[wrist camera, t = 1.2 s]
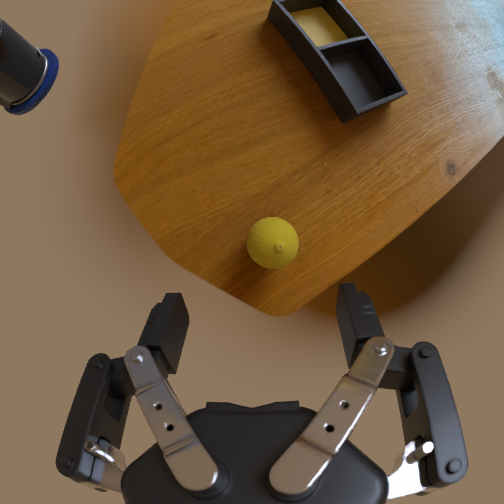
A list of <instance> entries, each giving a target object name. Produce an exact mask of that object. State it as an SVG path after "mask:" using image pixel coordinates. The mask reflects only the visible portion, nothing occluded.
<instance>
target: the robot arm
mask: <svg viewBox="0 0 504 504" xmlns="http://www.w3.org/2000/svg"><path fill="white" fill-rule="evenodd" d="M36 48H37V47H36ZM36 48H35V47H33V46H32V45H31V44H30V43H29V42H28V41H26V40H25V39H24V38H23V37H22V36H21V35H20V34H19V33H17V32H16V31H15V30H14V29H13V28H12V27H10V26H9V25H8V24H7V23H6V22H5V21H3V20H2V19H1V18H0V105H2V106H4V107H6V108H8V109H12V108H13V107H14V106H17V105H21V104H23V103H25V102H26V101H28V100H29V99H30V98H31V97H32V96H33V95H34V94H35V93H36V92H37V91H38V89H39V88H40V87H41V85H42V83H43V82H44V80H45V78H46V75H47V72H48V68H49V62H48V59H47V57H46V56H45V55H43V54H42V53H41V52H40V51H39V49H38V48H37V49H36ZM336 315H337V320H338V324H339V329H340V333H341V337H342V342H343V346H344V351H345V355H346V360H347V365H348V369H350V370H349V372H348V373H347V374H345V375H344V376H343V377H342V379H341V380H340V382H339V383H338V385H337V386H336V388H335V389H334V391H333V392H332V394H331V395H330V396H329V398H328V399H327V401H326V402H325V403H324V405H323V406H322V408H321V409H320V410H319V412H316V411H314V410H311V409H309V408H305V407H300V406H299V401H288V402H274V403H271V404H266V405H262V406H258V407H254V408H249V407H245V406H240V405H236V404H232V403H226V402H207V403H206V408H202V409H199V410H196V411H194V412H192V413H190V414H189V415H188V414H187V412H186V411H185V409H184V408H183V406H182V404H181V403H180V401H179V399H178V398H177V396H176V394H175V393H174V391H173V389H172V387H171V386H170V384H169V382H168V380H167V377H168V374H176V372H177V368H178V364H179V360H180V356H181V352H182V348H183V345H184V341H185V337H186V333H187V329H188V326H189V314H188V311H187V308H186V306H185V303H184V300H183V297H182V294H181V293H166V295H165V297H164V299H163V301H162V303H157V304H156V305H155V306H154V308H153V309H152V310H151V312H150V315H149V318H148V320H147V322H146V325H145V327H144V329H143V332H142V335H141V337H140V339H139V342H138V345H137V346H135V347H133V348H131V349H130V350H128V351H127V353H126V354H125V356H124V357H120V358H115V359H110V358H109V357H108V356H107V355H106V354H103V353H99V354H96V355H94V356H93V357H91V358H90V359H89V361H88V363H87V366H86V368H85V371H84V373H83V376H82V378H81V381H80V384H79V386H78V389H77V392H76V395H75V397H74V400H73V403H72V406H71V409H70V412H69V415H68V418H67V422H66V425H65V428H64V431H63V435H62V438H61V442H60V445H59V449H58V453H57V457H56V467H57V469H58V471H59V472H60V473H61V474H62V475H64V476H66V477H68V478H70V479H72V480H73V481H75V482H77V483H79V484H82V485H84V486H86V487H89V488H92V489H95V490H98V491H101V492H106V491H112V492H115V493H119V494H122V495H123V498H124V501H125V504H385V503H386V501H388V500H393V499H398V498H401V497H405V496H409V495H413V494H415V495H419V496H422V495H426V494H429V493H432V492H434V491H437V490H439V489H441V488H444V487H446V486H449V485H451V484H453V483H455V482H457V481H459V480H460V479H461V478H463V477H464V475H465V474H466V472H467V469H468V457H467V452H466V447H465V442H464V437H463V433H462V428H461V424H460V420H459V416H458V412H457V409H456V405H455V402H454V398H453V395H452V391H451V389H450V385H449V382H448V379H447V375H446V373H445V370H444V367H443V364H442V361H441V358H440V355H439V353H438V350H437V348H436V347H435V346H434V345H433V344H431V343H429V342H418V343H416V344H415V345H414V346H413V348H405V347H398V346H395V345H393V343H392V342H391V341H390V340H389V339H388V338H386V337H385V335H384V332H383V330H382V327H381V324H380V322H379V319H378V316H377V314H376V311H375V308H374V305H373V303H372V301H371V298H370V297H369V296H368V295H367V294H366V293H365V292H357V290H356V287H355V284H354V283H353V282H352V283H342V284H339V285H338V294H337V303H336ZM378 388H384V389H394V390H396V394H397V399H398V404H399V410H400V415H401V420H402V427H403V433H404V440H405V447H404V448H403V449H402V450H401V451H400V452H399V453H398V454H397V456H396V458H395V466H394V469H393V471H392V473H391V474H390V475H388V476H387V475H386V473H385V472H384V471H383V470H382V469H381V468H380V467H379V466H378V465H377V464H376V463H374V462H373V461H372V460H371V459H370V458H369V457H367V456H366V455H365V454H364V453H363V452H361V450H359V449H358V448H357V447H356V446H355V445H354V444H353V443H352V442H350V441H349V440H348V438H349V437H350V435H351V434H352V432H353V430H354V429H355V427H356V426H357V424H358V422H359V421H360V419H361V417H362V416H363V414H364V412H365V410H366V409H367V407H368V405H369V403H370V402H371V400H372V398H373V396H374V394H375V392H376V391H377V389H378ZM133 395H135V396H136V398H137V401H138V403H139V405H140V407H141V410H142V412H143V414H144V416H145V418H146V420H147V422H148V424H149V427H150V428H151V431H152V433H153V434H154V436H155V438H156V440H157V442H156V443H155V444H154V445H153V446H152V447H150V448H149V449H148V450H147V451H146V452H145V453H143V454H142V455H141V456H140V457H138V458H137V459H136V460H135V461H134V462H132V463H131V464H130V465H129V466H128V467H127V468H125V458H124V455H123V453H122V452H121V451H120V445H121V441H122V436H123V431H124V427H125V422H126V418H127V414H128V410H129V406H130V401H131V397H132V396H133Z"/></svg>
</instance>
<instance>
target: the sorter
mask: <svg viewBox="0 0 504 504" xmlns="http://www.w3.org/2000/svg"><path fill="white" fill-rule="evenodd" d="M267 18H268V19H269V20H270V21H271V23H272V24H273V25H274V26H275V27H276V29H277V30H278V31H279V32H280V33H281V35H282V36H283V37H284V38H285V40H286V41H287V42H288V43H289V45H290V46H291V47H292V49H293V50H294V51H295V53H296V54H297V55H298V57H299V58H300V59H301V61H302V62H303V63H304V65H305V66H306V68H307V69H308V70H309V72H310V73H311V75H312V76H313V78H314V79H315V80H316V82H317V83H318V85H319V86H320V88H321V89H322V91H323V92H324V94H325V95H326V97H327V99H328V100H329V102H330V103H331V105H332V107H333V108H334V110H335V111H336V113H337V115H338V116H339V118H340V120H341V121H342V123H345V122H347V121H349V120H352V119H354V118H356V117H358V116H361V115H363V114H365V113H367V112H370V111H372V110H374V109H377V108H379V107H381V106H384V105H386V104H389V103H391V102H393V101H395V100H397V99H399V98H400V97H402V96H404V95H406V94H408V93H407V91H406V89H405V88H404V86H403V84H402V83H401V81H400V79H399V78H398V76H397V75H396V73H395V71H394V70H393V68H392V67H391V65H390V64H389V62H388V61H387V59H386V58H385V56H384V55H383V54H382V52H381V51H380V49H379V48H378V47H377V45H376V44H375V42H374V41H373V40H372V38H371V37H370V36H369V35H368V33H367V32H366V31H365V29H364V28H363V27H362V26H361V24H360V23H359V22H358V21H357V20H356V18H355V17H354V16H353V15H352V14H351V13H350V11H349V10H348V9H347V8H346V7H345V6H344V5H343V4H342V2H341V1H340V0H273V2H272V5H271V8H270V11H269V14H268V17H267Z"/></svg>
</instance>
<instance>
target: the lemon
mask: <svg viewBox="0 0 504 504" xmlns="http://www.w3.org/2000/svg"><path fill="white" fill-rule="evenodd" d="M246 246H247V250H248V253H249V255H250V257H251V258H252V259H253V261H254V262H256V263H257V264H258V265H260V266H262V267H264V268H269V269H278V268H281V267H284V266H286V265H288V264H289V263H290V262H291V261H292V260H293V259H294V258H295V256H296V254H297V251H298V246H299V241H298V236H297V234H296V232H295V229H294V228H293V227H292V226H291V225H290V224H289V223H288V222H286V221H285V220H283V219H280V218H277V217H268V218H263V219H261V220H259V221H257V222H256V223H255V224H254V225H253V226H252V227H251V228H250V230H249V232H248V235H247V239H246Z"/></svg>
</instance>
